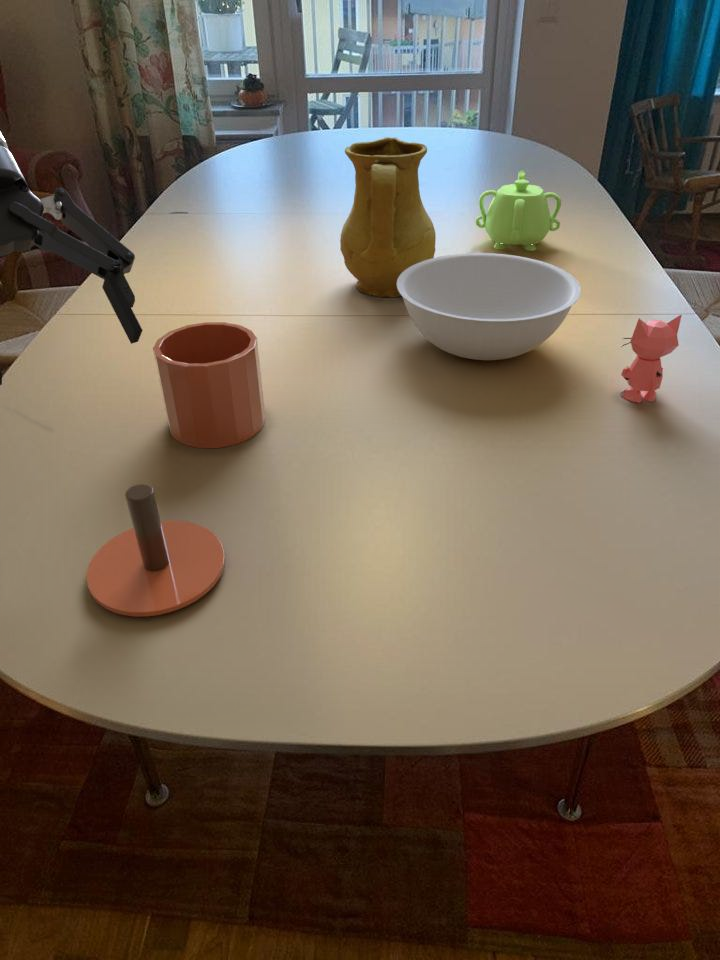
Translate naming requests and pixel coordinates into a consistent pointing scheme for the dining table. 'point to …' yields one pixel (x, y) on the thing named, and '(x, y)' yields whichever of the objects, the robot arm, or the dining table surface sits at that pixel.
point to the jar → (211, 384)
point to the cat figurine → (649, 357)
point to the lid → (154, 562)
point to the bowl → (487, 303)
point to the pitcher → (386, 215)
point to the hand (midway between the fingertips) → (70, 358)
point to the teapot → (518, 214)
